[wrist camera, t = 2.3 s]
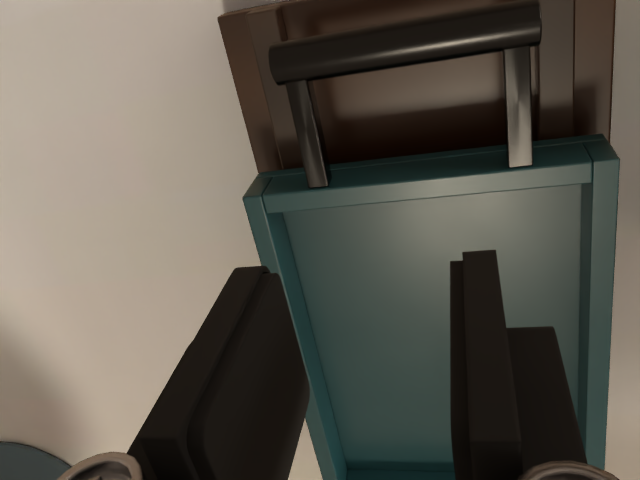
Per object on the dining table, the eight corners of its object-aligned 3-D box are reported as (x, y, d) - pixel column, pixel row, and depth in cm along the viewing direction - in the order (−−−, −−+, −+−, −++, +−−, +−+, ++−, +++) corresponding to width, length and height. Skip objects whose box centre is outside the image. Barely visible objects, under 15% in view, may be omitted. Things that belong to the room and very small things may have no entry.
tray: (224, 42, 22) (198, 59, 19) (608, -26, 18) (630, -15, 16) (337, 469, 32) (329, 511, 30) (591, 475, 29) (603, 523, 27)
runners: (224, 12, 23) (208, 21, 22) (611, -62, 19) (625, -59, 18) (341, 462, 35) (336, 488, 34) (592, 468, 32) (599, 497, 30)
